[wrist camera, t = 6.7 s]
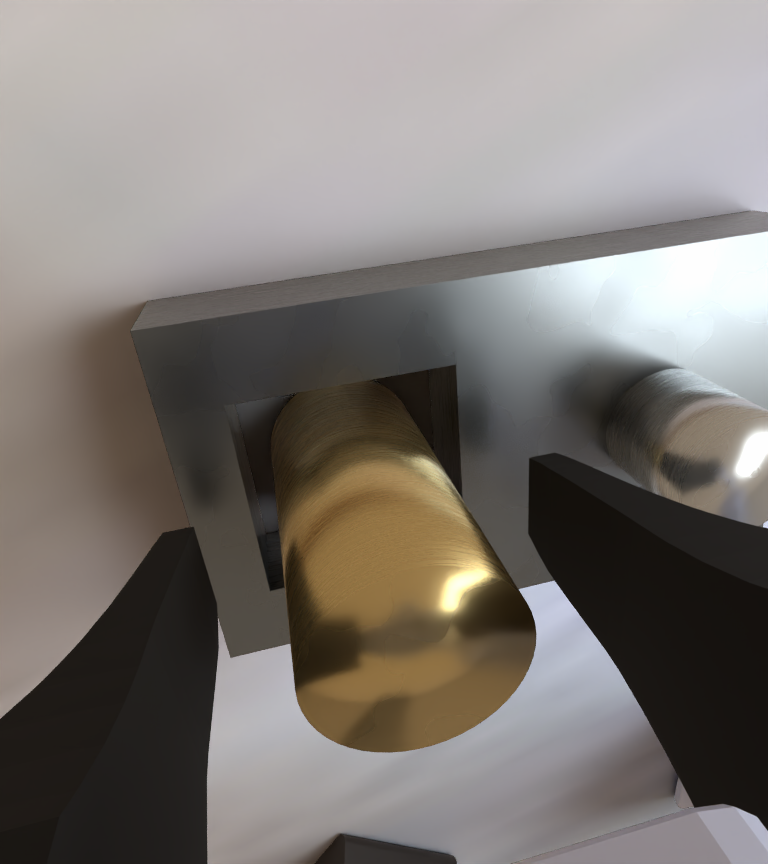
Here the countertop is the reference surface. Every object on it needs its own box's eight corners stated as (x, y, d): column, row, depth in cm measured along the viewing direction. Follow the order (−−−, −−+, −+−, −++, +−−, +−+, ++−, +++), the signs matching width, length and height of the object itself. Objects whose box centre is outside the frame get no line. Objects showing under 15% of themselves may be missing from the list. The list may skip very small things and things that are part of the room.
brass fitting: (420, 486, 18) (538, 712, 11) (288, 519, 17) (321, 778, 10) (403, 362, 16) (533, 538, 9) (254, 394, 15) (267, 608, 8)
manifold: (705, 488, 20) (851, 597, 15) (231, 594, 18) (228, 761, 13) (752, 210, 16) (972, 239, 11) (147, 301, 14) (98, 385, 9)
